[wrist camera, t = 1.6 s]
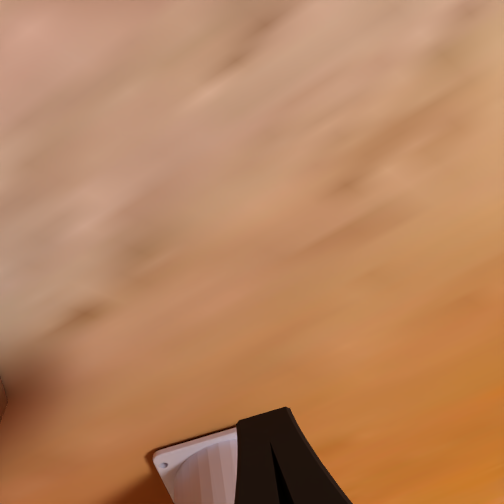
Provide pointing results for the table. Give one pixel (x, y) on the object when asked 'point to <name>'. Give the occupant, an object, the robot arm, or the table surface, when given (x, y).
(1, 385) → the wooden block
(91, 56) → the table surface
